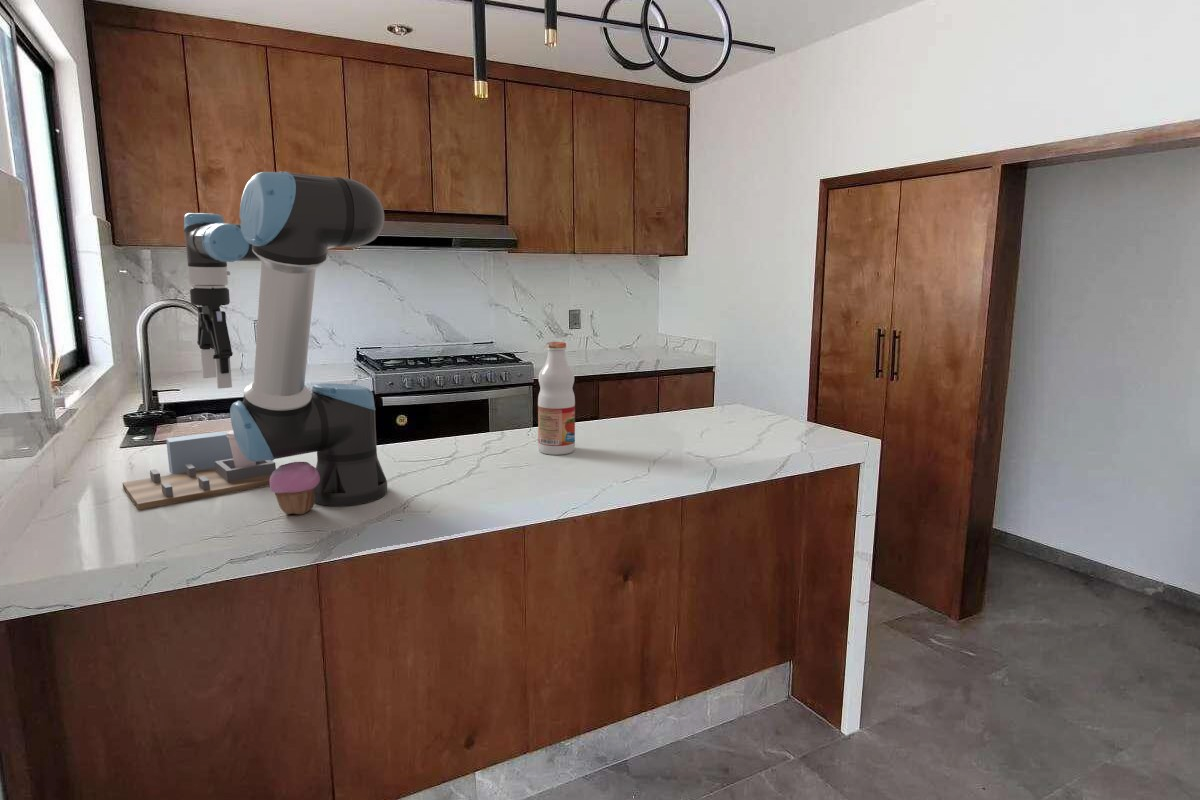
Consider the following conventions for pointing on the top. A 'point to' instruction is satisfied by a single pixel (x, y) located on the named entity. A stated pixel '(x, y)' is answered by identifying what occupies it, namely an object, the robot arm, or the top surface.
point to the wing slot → (190, 472)
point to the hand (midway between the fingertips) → (217, 382)
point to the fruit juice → (556, 403)
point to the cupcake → (295, 486)
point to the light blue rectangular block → (197, 451)
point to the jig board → (186, 488)
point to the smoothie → (238, 452)
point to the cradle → (243, 470)
